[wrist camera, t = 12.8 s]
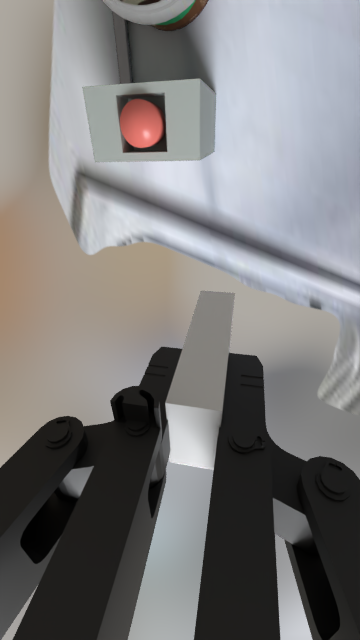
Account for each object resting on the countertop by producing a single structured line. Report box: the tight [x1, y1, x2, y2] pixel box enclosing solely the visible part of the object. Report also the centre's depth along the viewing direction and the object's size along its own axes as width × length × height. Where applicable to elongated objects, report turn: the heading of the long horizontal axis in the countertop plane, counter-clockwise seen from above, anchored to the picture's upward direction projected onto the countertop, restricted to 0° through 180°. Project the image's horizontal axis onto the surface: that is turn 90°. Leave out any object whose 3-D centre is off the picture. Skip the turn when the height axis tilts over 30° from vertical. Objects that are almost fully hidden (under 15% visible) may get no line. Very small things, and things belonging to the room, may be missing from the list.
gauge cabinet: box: [82, 79, 216, 162], centre depth 30 cm, size 10×6×12 cm, turn 92°
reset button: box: [120, 99, 166, 148], centre depth 25 cm, size 3×3×2 cm
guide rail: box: [112, 11, 133, 84], centre depth 30 cm, size 2×17×1 cm, turn 2°
